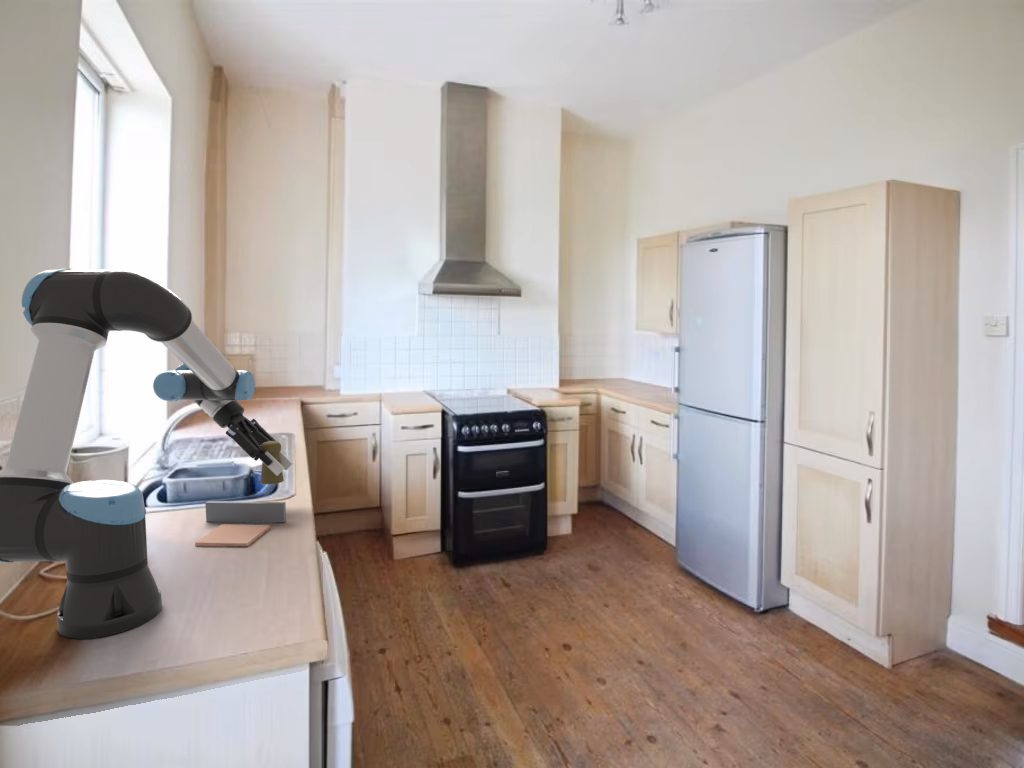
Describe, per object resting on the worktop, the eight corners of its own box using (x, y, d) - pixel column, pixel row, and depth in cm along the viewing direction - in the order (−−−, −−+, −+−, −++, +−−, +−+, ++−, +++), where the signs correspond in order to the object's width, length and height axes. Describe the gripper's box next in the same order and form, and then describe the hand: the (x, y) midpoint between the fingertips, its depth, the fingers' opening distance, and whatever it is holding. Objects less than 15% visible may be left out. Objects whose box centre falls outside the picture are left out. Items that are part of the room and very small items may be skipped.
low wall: (284, 522, 151) (283, 503, 151) (206, 521, 152) (205, 502, 151) (286, 521, 152) (285, 502, 152) (208, 520, 153) (207, 501, 152)
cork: (287, 478, 165) (286, 439, 164) (277, 484, 159) (276, 444, 158) (267, 478, 166) (265, 439, 165) (255, 483, 160) (254, 443, 159)
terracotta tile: (247, 546, 135) (247, 543, 135) (195, 545, 136) (195, 542, 136) (269, 528, 147) (269, 525, 147) (221, 527, 148) (221, 524, 147)
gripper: (230, 413, 170) (288, 470, 172) (195, 424, 152) (261, 487, 154) (248, 395, 170) (306, 452, 171) (215, 403, 152) (281, 468, 153)
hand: (285, 469), depth 162 cm, fingers closed on cork, 5 cm apart
